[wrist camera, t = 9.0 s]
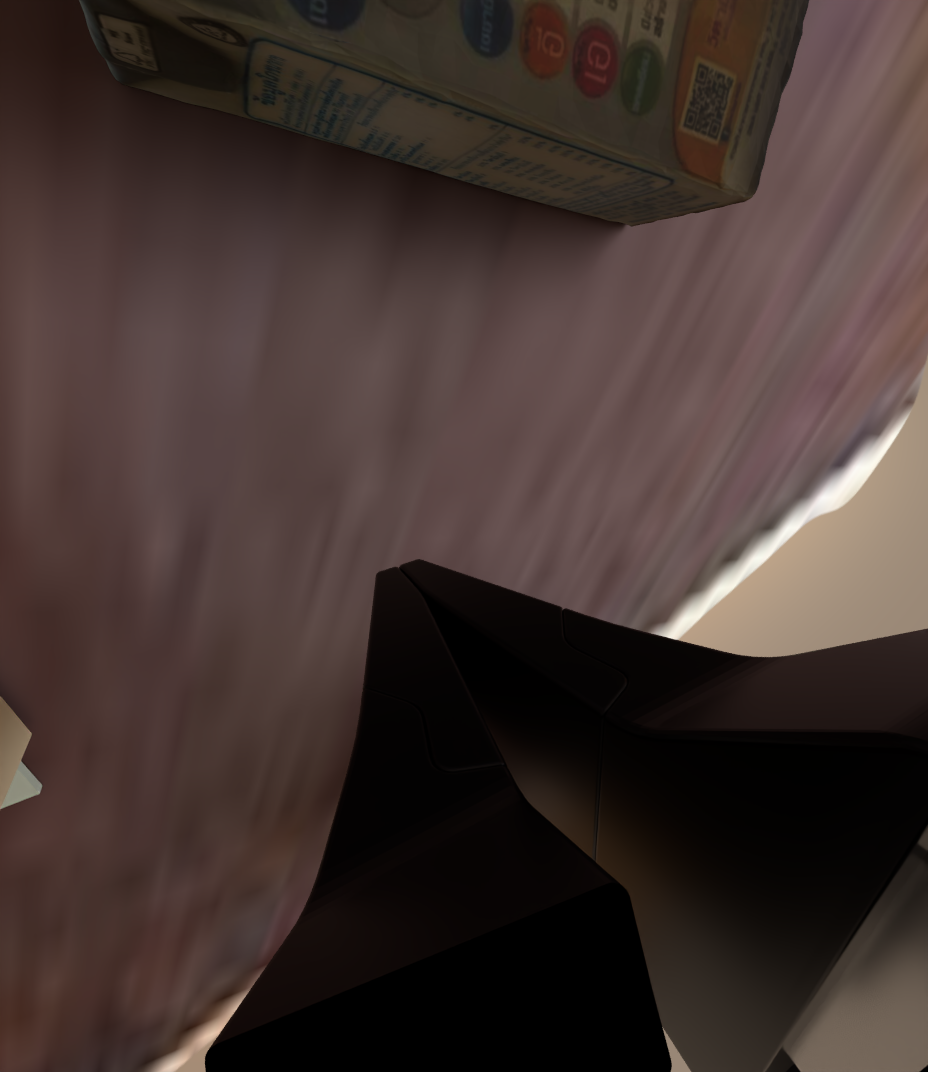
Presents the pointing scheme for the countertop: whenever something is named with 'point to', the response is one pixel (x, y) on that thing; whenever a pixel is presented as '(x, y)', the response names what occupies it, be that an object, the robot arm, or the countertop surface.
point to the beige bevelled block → (10, 746)
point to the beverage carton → (491, 86)
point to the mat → (22, 786)
